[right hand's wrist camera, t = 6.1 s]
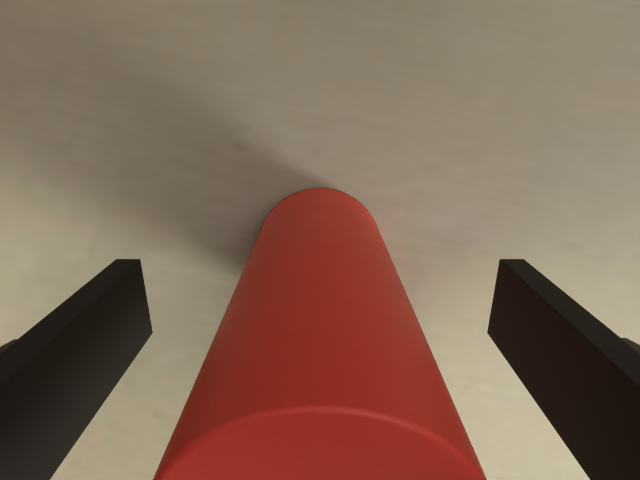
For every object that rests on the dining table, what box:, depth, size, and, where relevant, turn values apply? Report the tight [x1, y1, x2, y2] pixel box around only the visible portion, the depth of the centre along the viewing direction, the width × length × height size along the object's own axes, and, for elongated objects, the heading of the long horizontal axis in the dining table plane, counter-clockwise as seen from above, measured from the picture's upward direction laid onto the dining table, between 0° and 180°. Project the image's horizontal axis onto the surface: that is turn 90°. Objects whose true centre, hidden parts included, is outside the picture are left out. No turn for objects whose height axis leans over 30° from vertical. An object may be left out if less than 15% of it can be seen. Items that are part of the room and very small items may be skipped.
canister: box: [153, 188, 487, 480], centre depth 12 cm, size 5×5×12 cm
